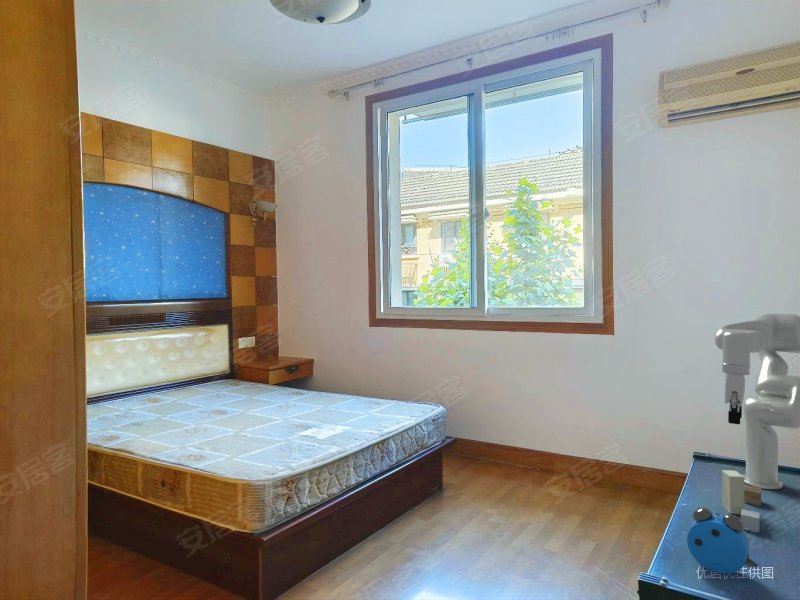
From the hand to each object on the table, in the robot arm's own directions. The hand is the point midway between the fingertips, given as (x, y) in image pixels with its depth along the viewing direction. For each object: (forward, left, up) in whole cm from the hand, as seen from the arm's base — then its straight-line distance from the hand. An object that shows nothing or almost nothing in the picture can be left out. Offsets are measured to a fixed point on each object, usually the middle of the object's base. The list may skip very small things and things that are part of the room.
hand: (735, 420), depth 168 cm
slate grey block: (+16, +5, -28) cm, 33 cm away
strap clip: (+37, +4, -29) cm, 47 cm away
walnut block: (-6, +5, -28) cm, 29 cm away
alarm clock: (+47, -1, -28) cm, 55 cm away
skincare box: (+5, 0, -28) cm, 29 cm away
